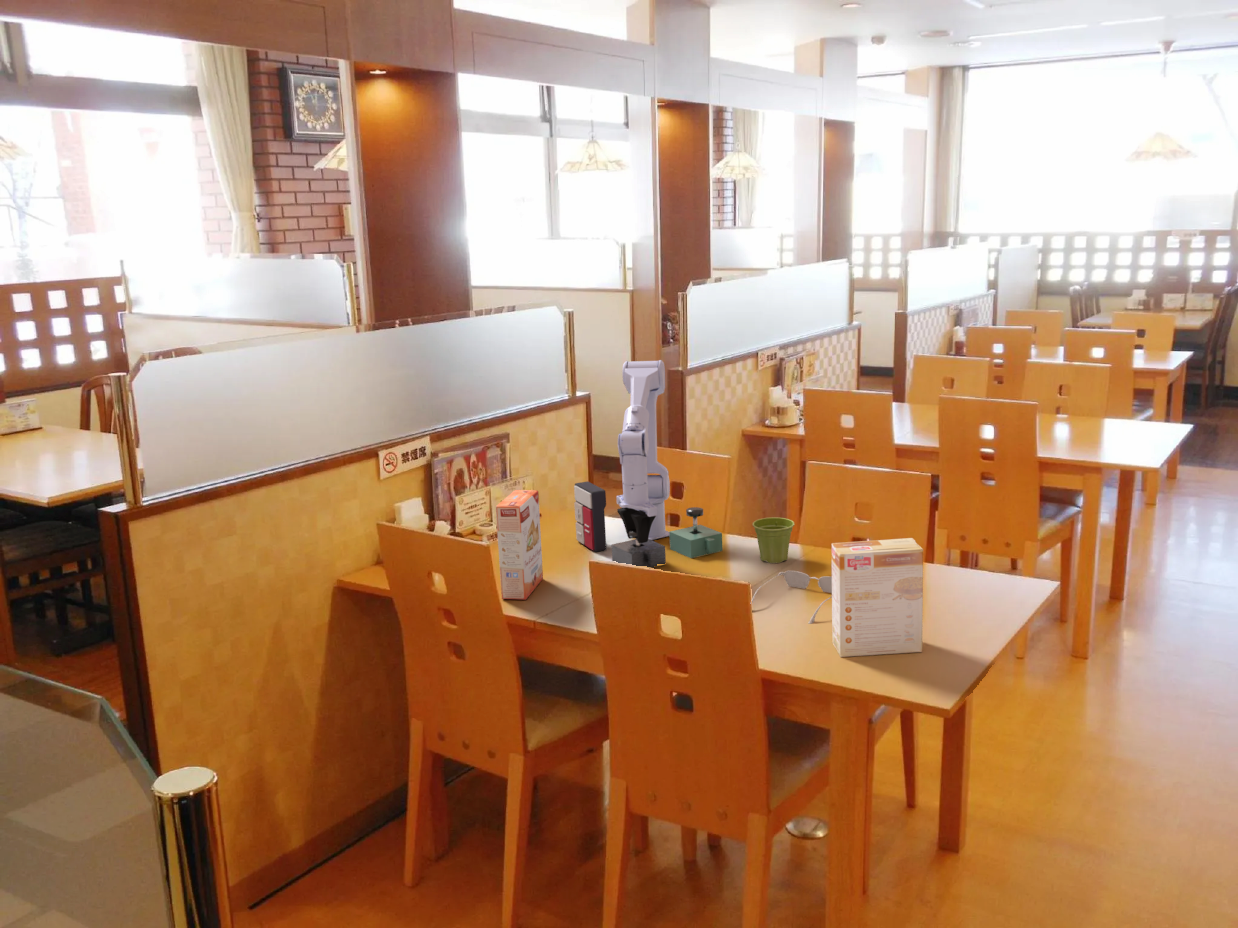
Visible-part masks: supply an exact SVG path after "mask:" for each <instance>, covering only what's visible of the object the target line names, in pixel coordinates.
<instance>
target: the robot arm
mask: <svg viewBox="0 0 1238 928" xmlns="http://www.w3.org/2000/svg"><path fill="white" fill-rule="evenodd" d="M665 368H666V366H665V362H664V361H663V360H662V359H659V360H638V361H637V360H634V361H628V360H626V361H624V363H623V364H622V371H621V372H622V374H621V375H622V382H623V385H624V387H625V389H626V391H627V394H629V395H630V406H628V407H627V408H626V409H625V411H624V415H623V423H622V430H621V433H618V435H617V449H618V455H619V464H620V465H621V476H622V477H621V478H622V480H621V481H622V494H620V495H616V504H617V505H618V506H619V508H618V509H617V510H616V511H617V514H618V515H619V516H620V518H621V521H622V522H623V523H622V524H623V526H624V529H625V532H626V536H627V539H630V540H632V538H631V537H629V530H631V529H635V528H636V533H637V539H638V542H639V543H644V542H647V541H648V539H650V540H652V541H654V540H658V539H661V538H665V537H670V535H669V532H670V531H668V530H666V517H665V515H666V513H665V511H666V509H665V501H666V500H668V499H669V497H670V492H671V491H670V489H671V488H670V487H671V486H670V485H671V484H670V483H671V482H670V477H669V470H668V468H667V467H666V466H665V465H664V464H662V463H661V462H659V461H658V437H657V431H658V429H657V427H658V426H657V401H658V396H661V395H662V394H664V393H665V389H666V369H665Z"/></svg>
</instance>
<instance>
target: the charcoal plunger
mask: <svg viewBox="0 0 1238 928" xmlns="http://www.w3.org/2000/svg"><path fill="white" fill-rule="evenodd" d="M629 537H631V539H636V548H637V547H640V543H639V542H638V539H637V533H636V528H635V529H631V530H629Z"/></svg>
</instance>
